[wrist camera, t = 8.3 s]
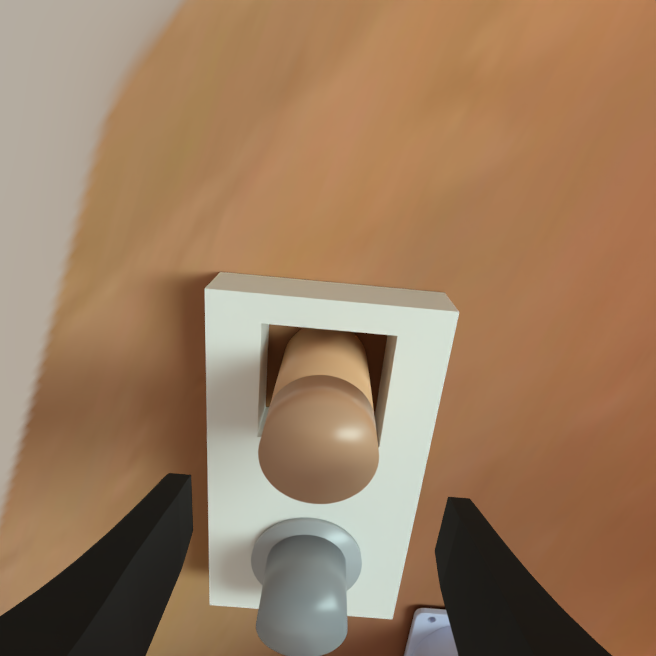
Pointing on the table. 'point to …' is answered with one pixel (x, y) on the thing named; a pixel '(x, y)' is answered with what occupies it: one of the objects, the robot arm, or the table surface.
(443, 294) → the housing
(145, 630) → the robot arm
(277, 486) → the tan round-topped peg
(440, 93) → the table surface
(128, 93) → the table surface
